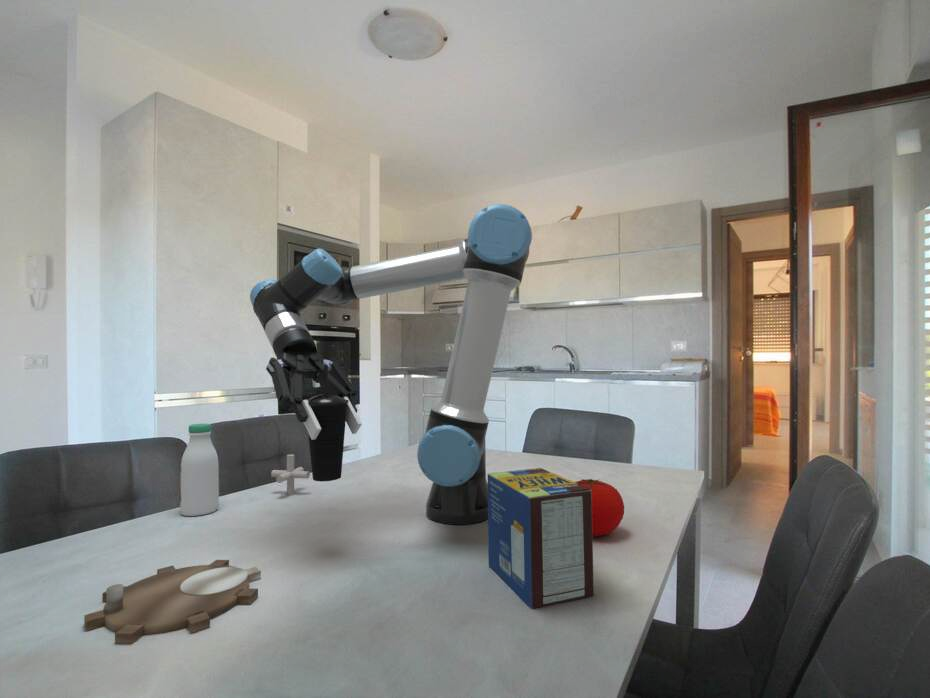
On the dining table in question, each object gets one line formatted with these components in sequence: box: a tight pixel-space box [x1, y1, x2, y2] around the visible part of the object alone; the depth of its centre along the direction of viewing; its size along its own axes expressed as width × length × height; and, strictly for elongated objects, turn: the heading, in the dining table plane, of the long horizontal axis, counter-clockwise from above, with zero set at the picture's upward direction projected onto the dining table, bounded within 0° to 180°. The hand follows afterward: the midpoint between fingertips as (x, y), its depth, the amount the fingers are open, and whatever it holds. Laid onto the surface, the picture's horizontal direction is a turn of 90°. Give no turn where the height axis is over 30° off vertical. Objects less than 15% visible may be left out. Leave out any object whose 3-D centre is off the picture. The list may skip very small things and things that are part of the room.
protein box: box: [487, 467, 595, 609], centre depth 75 cm, size 10×15×16 cm
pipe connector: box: [270, 454, 311, 496], centre depth 125 cm, size 10×10×10 cm
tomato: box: [574, 478, 625, 537], centre depth 95 cm, size 12×12×10 cm
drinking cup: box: [307, 365, 349, 482], centre depth 85 cm, size 8×8×20 cm
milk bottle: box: [179, 423, 220, 517], centre depth 111 cm, size 8×8×20 cm
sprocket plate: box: [83, 559, 262, 645], centre depth 70 cm, size 22×22×4 cm
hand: (337, 431), depth 83 cm, fingers closed on drinking cup, 7 cm apart
